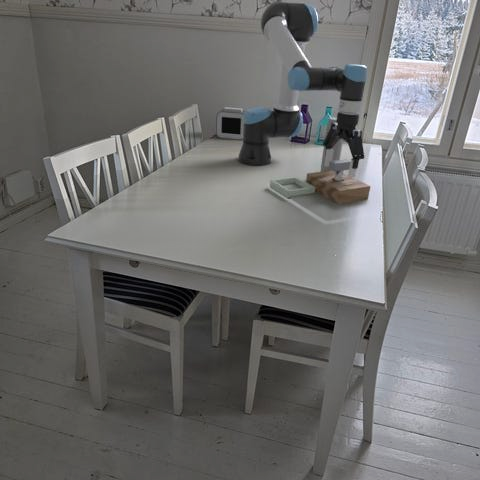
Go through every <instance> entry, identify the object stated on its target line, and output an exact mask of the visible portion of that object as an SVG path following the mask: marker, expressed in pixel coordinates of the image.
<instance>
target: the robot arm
mask: <svg viewBox="0 0 480 480" xmlns="http://www.w3.org/2000/svg"><path fill="white" fill-rule="evenodd" d="M318 26H319V17H318V12H317V10H316V7H314V6H313V5H312V4H309V3H308V4H307V3H300V2H299V3H298V2H284V1H277V2H273V3H271V4H269V5H268V6H267V7H266V8H265V10H264V11H263V13H262V14H261V18H260V29H261V32H262V34H263V35H264V37H265V38H266V39H265V40H267V41H270V42H271V44H272V45H273V47H274V50H275V51H276V52H277V54H278V56H279V58H280V59H281V60H282V63H281V73H280V79H279V88H278V96H277V98H278V99H277V103H275V104H274V105H273V109H271V108H269V107H254V108H249V109H248V110H245V111H246V112H245V117H244V133H243V140H242V145H241V148H240V150H239V153H238V161H239V163H242V164H244V165H248V166H249V165H250V166H266V165H269V164H270V163H271V162H272V154H271V151H270V146H269V142H270V141H269V140H270V138H272V139H273V138H292V137H297V136H298V135H299V133H300V132H301V131H302V127H303V124H304V119H303V113H302V112H301V111H300V110H301V109H300V107H299V105H298V100H299V98H298V97H299V92H304V91H305V92H307V91H308V92H310V91H315V92H316V91H320V92H321V91H323V92H324V91H325V92H326V91H327V92H328V91H329V92H330V91H332V92H333V91H334V92H335V91H336V92H338V93H339V92H340V93H339V94H340V96H339V102H338V108H337V110H338V112H337V114H336V117H337V120H336V122H337V123H332V124H331V128H330V130H329V132H328V134H327V136H326V138H325V137H324V140H323V141H322V142H323V143H322V146H323V147H324V146H325V148H326V153H325V157H326V158H325V165H324V166H329V162H330V161H332V157H333V151H334V149H331V148H333V146H334V145H335V144H336V143H337V142H338V141H339V140H340V139H343V141H345V142H346V143H347V145H348V148H349V151H350V154H351V156H352V157H351V159H350V160H349V161H350V167H349V170H348V172H347V175H348V177H352V178H354V177H356V172H357V169H358V168H359V163H360V160H364V159H365V152H364V144H363V138H362V135H363V131H362V129H357V130H356V127H357V125H358V124H359V122H360V121H359V118H360V114H359V113H361V107H362V102H363V96H364V92H365V91H364V90H365V86H366V81H367V72H368V68H367V66H366V65H364V64H358V63H357V64H355V63H354V64H353V63H347V64H345V65H344V67H343V68H340V67H337V66H335V67H334V66H329V67H313V66H312V65H311V63H310V62H309V60H308V58H306V55H305V50H306V49H305V48H306V46H307V45H308V44H309V43H310V41H311V38H312V37H314V36H315V35H316V32H317V31H318Z"/></svg>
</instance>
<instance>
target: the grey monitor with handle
mask: <svg viewBox="0 0 480 480" xmlns="http://www.w3.org/2000/svg"><path fill="white" fill-rule="evenodd" d="M246 111H247V110H243V108H238V107H237V108H236V107H226V106H225V107H223V108H222V109H220V110H219V111H218V113H217V114H216V117H215V118H216V120H215V121H216V123H215V125H216V126H215V127H216V130H215V134H216V136H217V137H218V138H219V139H223V140H224V139H225V140H237V141H243V133H244V117H245V112H246Z"/></svg>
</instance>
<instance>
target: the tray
mask: <svg viewBox="0 0 480 480" xmlns="http://www.w3.org/2000/svg"><path fill="white" fill-rule="evenodd" d="M269 181H270V182H269V188H270V189H271V190H273V191H274V192H276V193H278V194H279V195H280V196H282V197H284V198H285V199H287V200H291V199H292V198H291V197H296V196H302V195H309V194H314V193H316V192H315V188H316V187H314V186H312V185H310V184H309V183H307V182H306V180H305V181H304V180H303V179H301V178H300V177H298V176H291V177H283V178H274V179H270V180H269ZM288 184H296V185H298V186H300V187H301V188H294V189H289V188H287V187H286V186H284V185H288Z"/></svg>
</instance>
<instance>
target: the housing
mask: <svg viewBox="0 0 480 480" xmlns="http://www.w3.org/2000/svg"><path fill="white" fill-rule="evenodd" d="M334 175H335V172H333V171H323V172H320V171H315V172H310V173H309V172H308V173H306V176H305V177H306V180H305V182H307V183H309V184H310V185H312V186H314V187H316V188H315V193H317V194H319V195H321V196H323V197H325V198H326V199H328V200H330V201H332V202H333V203H335V204H337V205H341V204H347V203H352V202H358V201H364V200H368V199H369V196H370V195H369V194H370V191H371V185H369V184H367V183H366V182H362V181H361V180H358V179H356V178H354V177H348V174H345V173H343V177H342V181H339V182H336V181H334Z"/></svg>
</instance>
